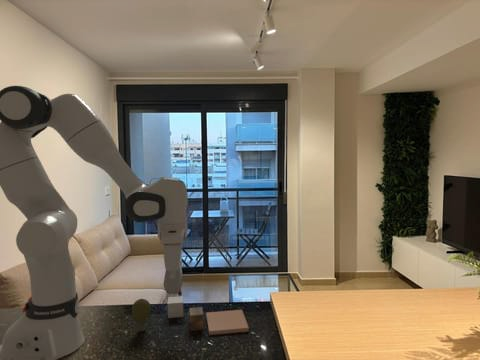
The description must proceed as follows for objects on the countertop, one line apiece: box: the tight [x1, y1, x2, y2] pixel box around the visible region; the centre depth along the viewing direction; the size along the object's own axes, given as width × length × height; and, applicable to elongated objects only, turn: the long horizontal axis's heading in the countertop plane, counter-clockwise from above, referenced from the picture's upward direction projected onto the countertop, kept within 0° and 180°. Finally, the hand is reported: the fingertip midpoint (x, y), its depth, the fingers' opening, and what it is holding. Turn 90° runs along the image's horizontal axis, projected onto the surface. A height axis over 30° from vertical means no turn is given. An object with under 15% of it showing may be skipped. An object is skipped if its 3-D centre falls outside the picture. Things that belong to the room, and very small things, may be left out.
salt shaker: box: [163, 266, 183, 295], centre depth 110 cm, size 6×6×13 cm
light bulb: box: [131, 298, 152, 332], centre depth 109 cm, size 6×6×10 cm
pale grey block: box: [167, 295, 184, 319], centre depth 121 cm, size 5×5×5 cm
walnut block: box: [189, 306, 204, 332], centre depth 112 cm, size 4×5×5 cm
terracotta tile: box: [205, 309, 250, 336], centre depth 114 cm, size 12×12×1 cm
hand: (172, 275), depth 110 cm, fingers closed on salt shaker, 3 cm apart
